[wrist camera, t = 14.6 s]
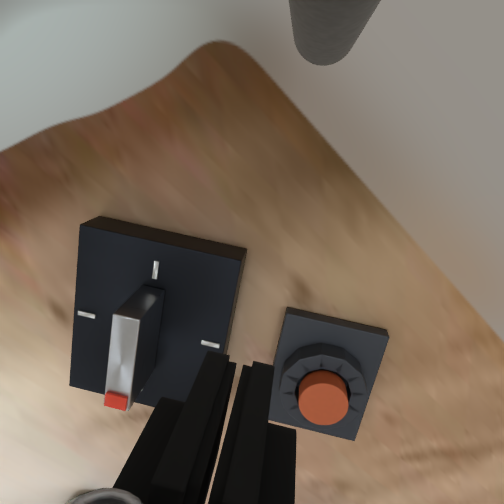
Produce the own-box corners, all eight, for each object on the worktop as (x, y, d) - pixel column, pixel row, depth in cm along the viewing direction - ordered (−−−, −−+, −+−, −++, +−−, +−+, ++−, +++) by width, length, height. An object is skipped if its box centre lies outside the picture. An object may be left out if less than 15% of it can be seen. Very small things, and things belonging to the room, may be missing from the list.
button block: (286, 306, 33) (285, 323, 30) (386, 329, 33) (394, 349, 30) (262, 409, 36) (258, 433, 33) (353, 431, 36) (357, 457, 33)
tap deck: (98, 215, 33) (78, 224, 30) (247, 248, 32) (241, 261, 29) (87, 366, 37) (68, 387, 34) (217, 398, 37) (209, 422, 34)
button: (304, 365, 32) (304, 378, 30) (351, 376, 31) (354, 390, 30) (294, 403, 33) (293, 418, 31) (339, 414, 33) (341, 430, 31)
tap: (142, 284, 31) (110, 315, 26) (165, 289, 31) (138, 322, 26) (132, 364, 33) (101, 407, 28) (154, 370, 33) (127, 414, 28)
